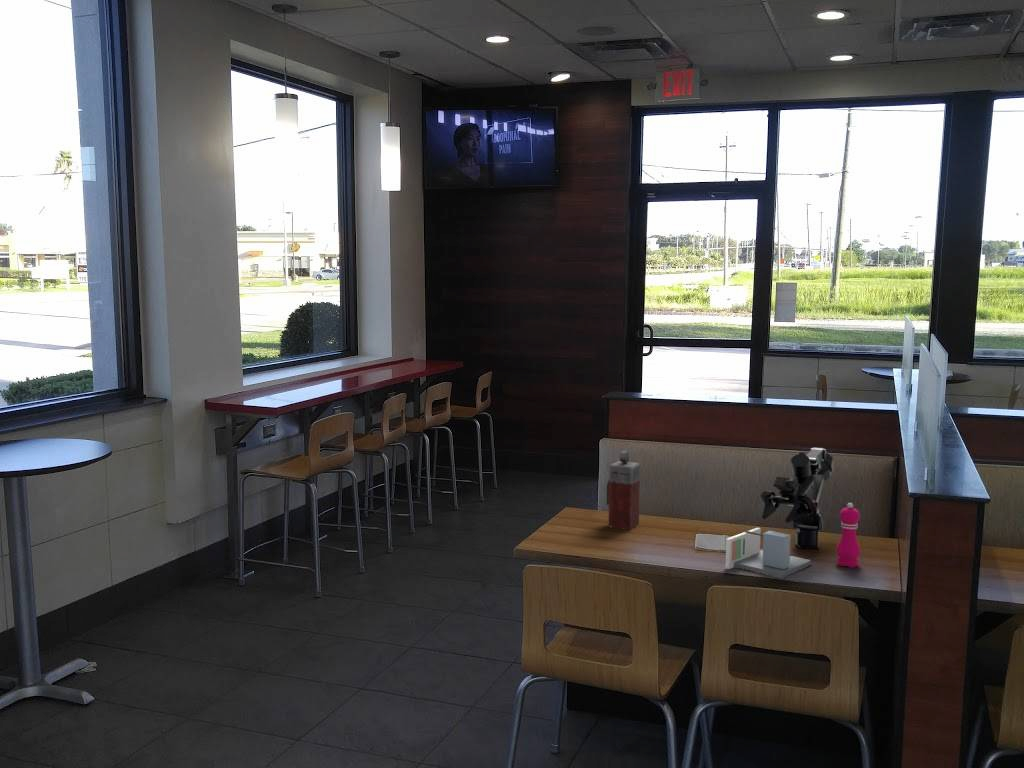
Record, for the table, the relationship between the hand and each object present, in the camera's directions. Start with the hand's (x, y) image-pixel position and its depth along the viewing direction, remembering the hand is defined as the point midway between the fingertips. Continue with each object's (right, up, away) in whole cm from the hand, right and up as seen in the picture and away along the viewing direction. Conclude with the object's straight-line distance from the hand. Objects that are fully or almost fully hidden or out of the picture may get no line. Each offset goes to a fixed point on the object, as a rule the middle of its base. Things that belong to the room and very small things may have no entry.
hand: (774, 520), depth 287 cm
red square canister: (-44, -9, +46) cm, 64 cm away
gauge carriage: (-5, -12, -7) cm, 15 cm away
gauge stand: (-3, -14, -4) cm, 15 cm away
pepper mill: (+23, -14, -2) cm, 27 cm away
